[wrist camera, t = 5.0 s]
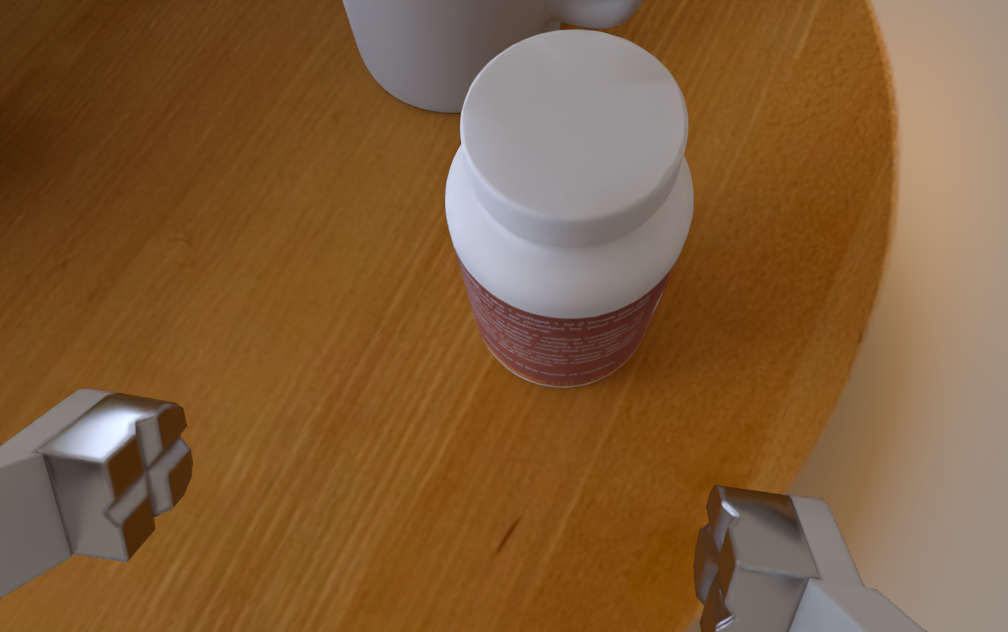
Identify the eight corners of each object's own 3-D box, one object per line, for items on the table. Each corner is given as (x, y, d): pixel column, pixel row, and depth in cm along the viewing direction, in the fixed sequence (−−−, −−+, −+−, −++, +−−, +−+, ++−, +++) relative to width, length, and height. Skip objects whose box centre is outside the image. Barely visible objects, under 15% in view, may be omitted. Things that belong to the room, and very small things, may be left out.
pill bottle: (673, 364, 23) (781, 208, 13) (501, 413, 23) (466, 296, 12) (615, 210, 25) (666, -32, 15) (456, 254, 25) (394, 39, 14)
